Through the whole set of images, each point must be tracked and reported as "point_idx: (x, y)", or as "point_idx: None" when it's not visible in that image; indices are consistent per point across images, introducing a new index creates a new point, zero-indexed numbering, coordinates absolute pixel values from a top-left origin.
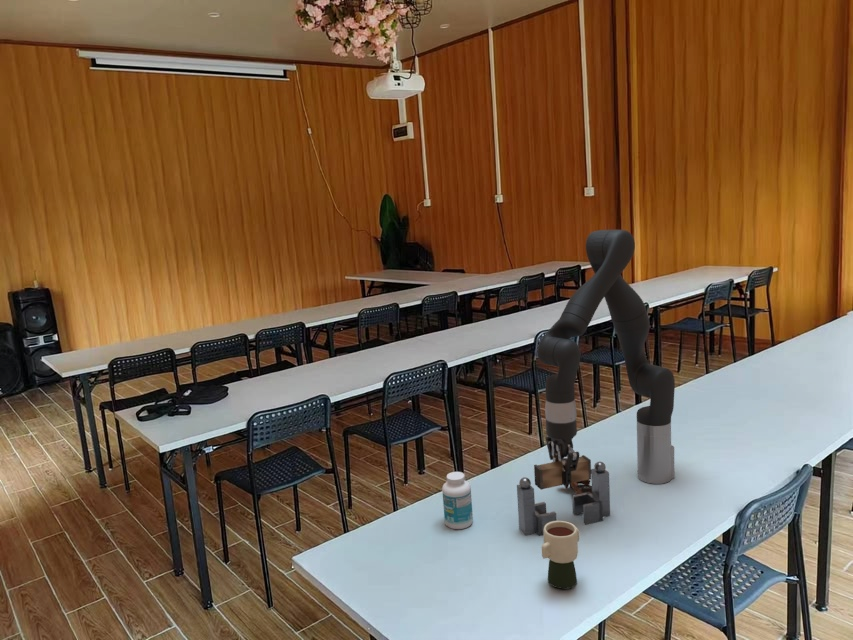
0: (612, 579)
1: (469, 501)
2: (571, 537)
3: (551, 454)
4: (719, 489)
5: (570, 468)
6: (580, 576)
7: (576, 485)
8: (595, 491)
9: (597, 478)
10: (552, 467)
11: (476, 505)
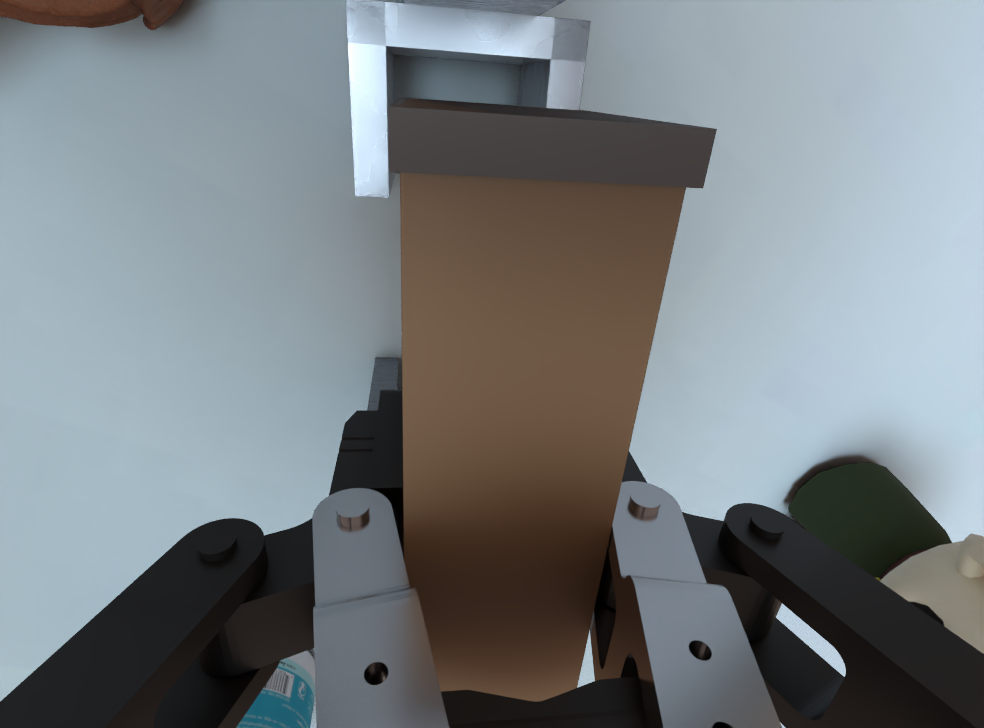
0: (957, 334)
1: None
2: None
3: (243, 713)
4: None
5: (778, 610)
6: (851, 428)
7: (121, 3)
8: (477, 2)
9: None
10: None
11: (95, 582)
